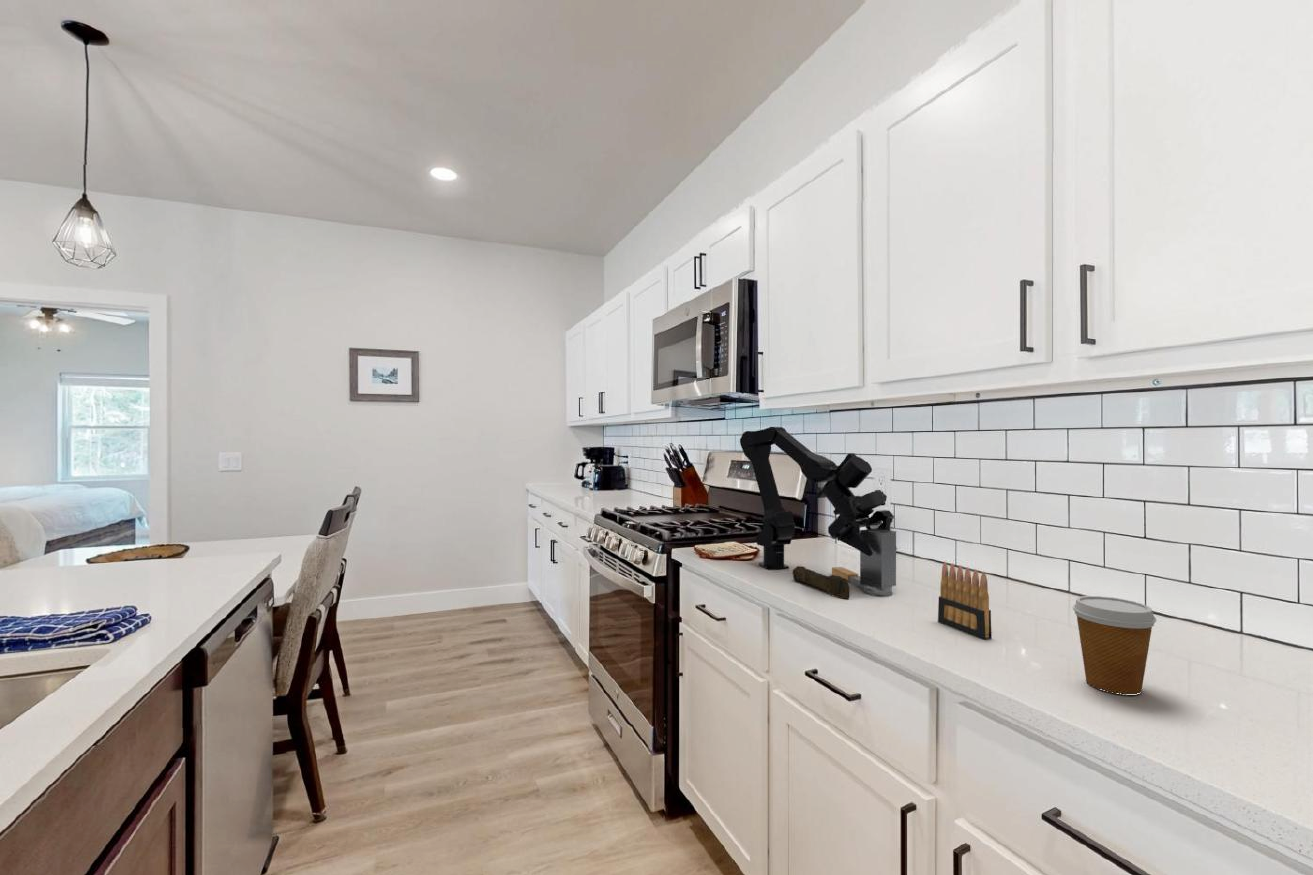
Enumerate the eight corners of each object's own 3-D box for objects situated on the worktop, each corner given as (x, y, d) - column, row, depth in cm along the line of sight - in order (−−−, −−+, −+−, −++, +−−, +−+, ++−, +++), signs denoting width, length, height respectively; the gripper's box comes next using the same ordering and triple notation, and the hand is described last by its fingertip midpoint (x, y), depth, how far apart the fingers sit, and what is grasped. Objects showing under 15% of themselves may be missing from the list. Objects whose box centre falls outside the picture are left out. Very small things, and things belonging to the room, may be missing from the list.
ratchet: (826, 575, 152) (826, 556, 152) (847, 574, 153) (847, 555, 153) (873, 597, 131) (873, 575, 131) (897, 596, 132) (897, 574, 132)
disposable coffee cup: (1131, 706, 77) (1131, 617, 77) (1058, 679, 86) (1058, 599, 86) (1171, 694, 81) (1171, 608, 81) (1097, 669, 90) (1097, 592, 90)
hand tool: (791, 581, 145) (791, 563, 145) (805, 580, 147) (805, 562, 147) (838, 602, 127) (838, 581, 127) (853, 600, 129) (853, 579, 129)
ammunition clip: (992, 639, 104) (992, 572, 104) (984, 640, 103) (984, 572, 103) (944, 621, 114) (945, 560, 114) (937, 622, 113) (937, 560, 113)
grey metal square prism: (860, 583, 135) (860, 530, 135) (874, 580, 138) (874, 528, 138) (881, 589, 130) (881, 533, 130) (895, 585, 133) (896, 531, 133)
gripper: (838, 480, 132) (881, 535, 123) (887, 477, 143) (929, 527, 134) (811, 511, 139) (849, 565, 130) (859, 506, 149) (898, 556, 140)
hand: (883, 552), depth 133 cm, fingers open, 9 cm apart
